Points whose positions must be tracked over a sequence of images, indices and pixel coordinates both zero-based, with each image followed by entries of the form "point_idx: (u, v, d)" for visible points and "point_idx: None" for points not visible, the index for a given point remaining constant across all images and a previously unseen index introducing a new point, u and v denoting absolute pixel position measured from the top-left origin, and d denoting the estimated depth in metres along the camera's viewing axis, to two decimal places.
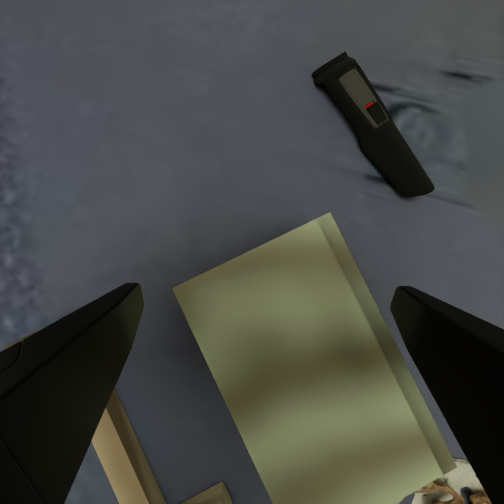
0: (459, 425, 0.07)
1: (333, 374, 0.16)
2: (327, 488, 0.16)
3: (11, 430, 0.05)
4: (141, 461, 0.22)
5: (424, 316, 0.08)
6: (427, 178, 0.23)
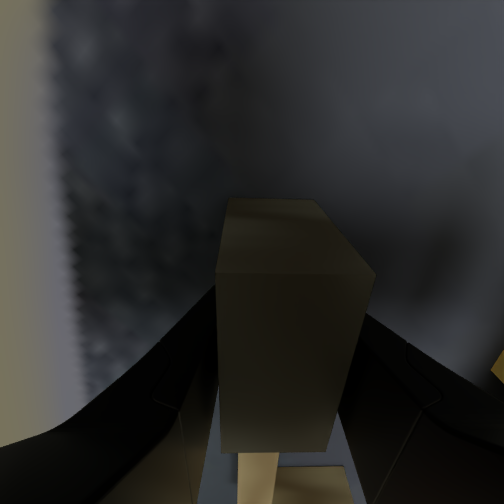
0: (351, 427, 0.07)
1: None
2: None
3: (185, 429, 0.05)
4: None
5: None
6: None
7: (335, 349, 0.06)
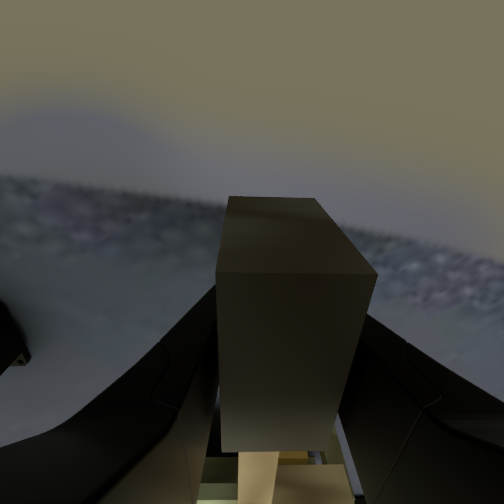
0: (350, 426, 0.07)
1: None
2: None
3: (185, 429, 0.05)
4: None
5: None
6: None
7: (336, 348, 0.06)
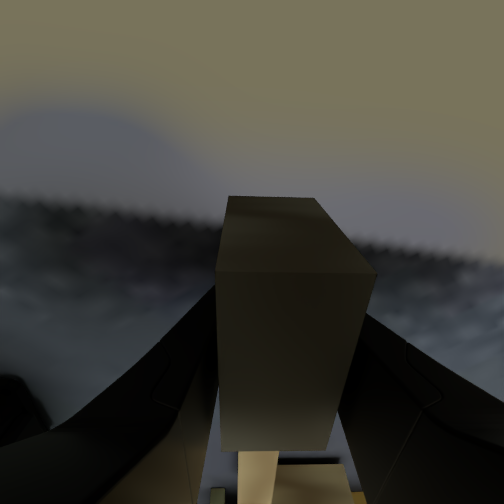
0: (350, 427, 0.07)
1: None
2: None
3: (185, 428, 0.05)
4: None
5: None
6: None
7: (335, 348, 0.06)
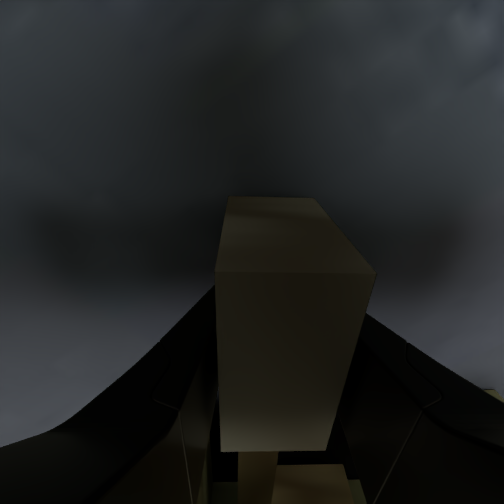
0: (350, 427, 0.07)
1: None
2: None
3: (185, 428, 0.05)
4: None
5: None
6: None
7: (335, 348, 0.06)
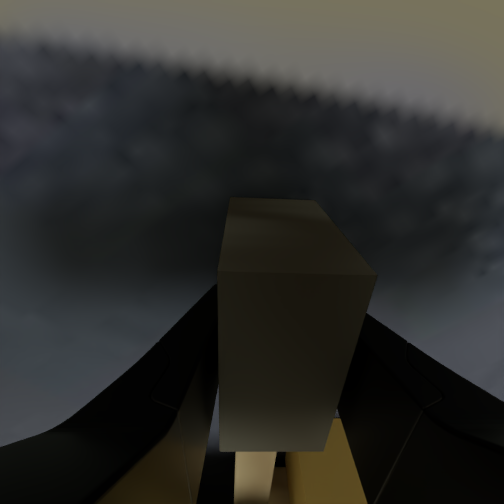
0: (351, 427, 0.07)
1: None
2: None
3: (185, 429, 0.05)
4: None
5: None
6: None
7: (335, 349, 0.06)
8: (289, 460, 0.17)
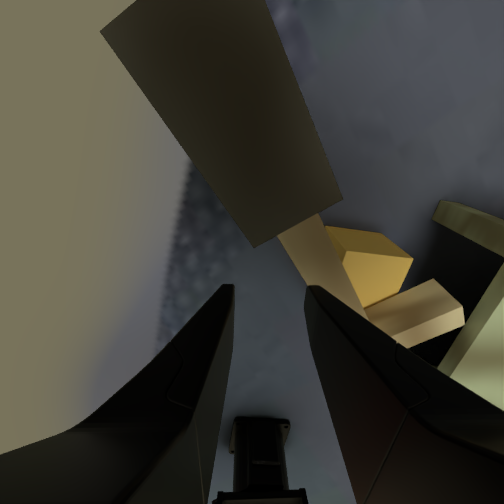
0: (341, 427, 0.07)
1: None
2: None
3: (199, 429, 0.05)
4: None
5: (318, 315, 0.08)
6: None
7: (263, 56, 0.06)
8: None
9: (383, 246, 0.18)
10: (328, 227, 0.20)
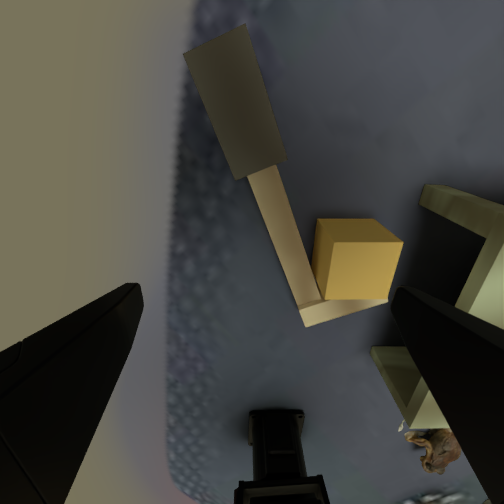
0: (459, 426, 0.07)
1: None
2: None
3: (11, 430, 0.05)
4: None
5: (424, 316, 0.08)
6: None
7: (251, 77, 0.12)
8: None
9: (373, 233, 0.18)
10: (319, 220, 0.21)
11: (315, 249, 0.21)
